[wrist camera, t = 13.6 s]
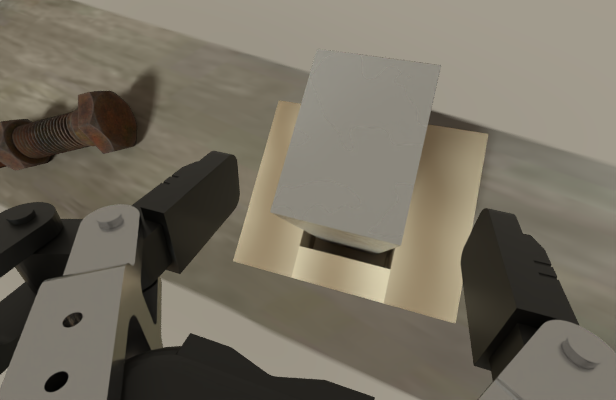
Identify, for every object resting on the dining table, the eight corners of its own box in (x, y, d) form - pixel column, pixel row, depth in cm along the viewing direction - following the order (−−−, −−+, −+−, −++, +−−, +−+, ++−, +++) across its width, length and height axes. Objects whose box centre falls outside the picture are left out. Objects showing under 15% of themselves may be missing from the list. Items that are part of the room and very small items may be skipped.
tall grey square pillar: (391, 185, 22) (440, 65, 8) (374, 255, 21) (400, 245, 8) (342, 175, 23) (317, 48, 9) (325, 241, 22) (269, 212, 8)
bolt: (25, 159, 34) (147, 129, 32) (-4, 192, 31) (129, 162, 28) (-30, 114, 30) (106, 76, 27) (-71, 147, 26) (79, 107, 24)
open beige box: (447, 174, 24) (488, 134, 17) (423, 302, 23) (455, 323, 15) (302, 146, 27) (278, 100, 19) (271, 260, 25) (233, 260, 18)
